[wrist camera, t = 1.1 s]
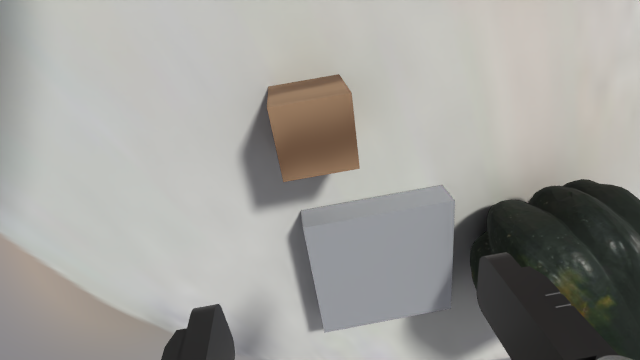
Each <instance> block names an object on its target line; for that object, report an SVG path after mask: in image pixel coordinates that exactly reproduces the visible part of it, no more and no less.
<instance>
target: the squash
mask: <svg viewBox="0 0 640 360" xmlns="http://www.w3.org/2000/svg"><path fill="white" fill-rule="evenodd" d="M487 230H488V231H487V232H485V233H484V234H483V235H481V236H480V237H479V238H478V239H477V240H476V241H475V243H474V244H473V246H472V248H471V252H470V266H471V272H472V278H473V282H474V285H475V288H476V291H477V283H478V271H479V261H480V258H481V257H483V256H488V255H494V254H499V253H505V252H507V253H509V254H510V255H511V256H512V257H513V258H514V259H515V260H516V262H517V263H518V264H519V265H520V266H521V267H528V266H530V267H532V268H533V269H535V270H536V271H538V272H540V273H541V274H543V275H545V276H546V277H548V278H549V280H550V281H551V282H552V283H553V284H554V285H555V286H556V287H557V288H558V289H559V291H560V293H561V294H563V295H564V296H565V297H566V298H567V299H568V300H569V301H570V303H571V305H572V306H574V307H575V308H576V309H577V310H578V311H579V312H580V314H581V315H582V316H583V317H584V318H585V319H586V320H587V321H588V322H589V323H590V324H591V326H592V327H593V328H594V329H595V330H596V331H597V332H598V333H599V334H600V335H601V337H602V338H603V339H604V340H605V341H606V342H607V343H608V344H609V345H610V346H611V347H612V349H613V350H614V351H615V352H616V353H617V354H618V355H620V356H623V357H627V358H630V359H633V360H640V200H639V199H638V198H637V197H635V196H634V195H633V194H632V193H630V192H629V191H628V190H626V189H624V188H622V187H618V186H614V185H607V184H598V183H596V182H593V181H591V180H584V179H581V180H577V181H573V182H570V183H567V184H565V185H564V186H550V187H545V188H543V189H541V190H539V191H538V192H536V193H535V194H534V195H533V197H532V198H531V200H530V202H529V204H528V203H526V202H523V201H519V200H506V201H501V202H499V203H497V204H495V205H494V206H492V207H491V208H490V210H489V212H488V217H487Z"/></svg>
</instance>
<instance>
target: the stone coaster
mask: <svg viewBox="0 0 640 360" xmlns="http://www.w3.org/2000/svg"><path fill="white" fill-rule="evenodd" d="M454 209H455V200H454V199H453V198H452V196H451V195H450V194H449V193H448V191H447V190H446V189H445V188H444V186H443V185H439V186H434V187H428V188H423V189H417V190H412V191H406V192H400V193H395V194H389V195H384V196H378V197H373V198H367V199H362V200H356V201H351V202H345V203H340V204H334V205H329V206H323V207H318V208H312V209H307V210H301V216H302V224H303V231H304V236H305V241H306V245H307V250H308V255H309V260H310V265H311V270H312V275H313V280H314V284H315V289H316V294H317V299H318V304H319V309H320V314H321V318H322V323H323V328H324V333H325V332H330V331H335V330H340V329H346V328H351V327H356V326H362V325H367V324H372V323H377V322H383V321H388V320H393V319H398V318H404V317H409V316H414V315H420V314H425V313H430V312H435V311H441V310H446V309H451V297H452V268H453V239H454Z"/></svg>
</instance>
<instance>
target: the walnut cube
mask: <svg viewBox="0 0 640 360" xmlns="http://www.w3.org/2000/svg"><path fill="white" fill-rule="evenodd" d="M267 110H268V115H269V119H270V124H271V128H272V133H273V137H274V142H275V146H276V151H277V155H278V160H279V164H280V169H281V173H282V178H283V182H287V181H292V180H298V179H304V178H309V177H315V176H320V175H326V174H331V173H337V172H343V171H348V170H354V169H359V168H360V167H359V158H358V149H357V139H356V130H355V120H354V111H353V102H352V93H351V91H350V90H349V88H348V87H347V85H346V84H345V82H344V81H343V80H342V78H341V77H340V75H339V74H338V75H333V76H327V77H321V78H315V79H310V80H304V81H298V82H292V83H287V84H281V85H275V86H269V87H268V100H267Z"/></svg>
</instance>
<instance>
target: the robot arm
mask: <svg viewBox="0 0 640 360" xmlns="http://www.w3.org/2000/svg"><path fill="white" fill-rule="evenodd" d="M477 299H478V303H479V306H480V309H481V311H482V313H483V315H484V316H485V318H486V319H487V321H488V323H489V324H490V326H491V327H492V329H493V331H494V332H495V334H496V335H497V337H498V339H499V340H500V342H501V343H502V345H503V347H504V348H505V350H506V352H507V353H508V355H509V356H510V358H511V360H633V359H630V358H627V357H623V356H620V355H618V354H617V353H616V352H615V351H614V350H613V349H612V347H611V346H610V345H609V344H608V343H607V342H606V341H605V340H604V339H603V338H602V337H601V335H600V334H599V333H598V332H597V331H596V330H595V329H594V328H593V327H592V326H591V324H590V323H589V322H588V321H587V320H586V319H585V318H584V317H583V316H582V315H581V314H580V312H579V311H578V310H577V309H576V308H575V307H574V306H572V305H571V303H570V301H569V300H568V299H567V298H566V297H565V296H564V295H563V294H561V293H560V291H559V289H558V288H557V287H556V286H555V285H554V284H553V283H552V282H551V281H550V280H549V278H548V277H546V276H545V275H543V274H541V273H540V272H538V271H536V270H535V269H533V268H532V267H530V266H528V267H521V266H520V265H519V264H518V263H517V262H516V260H515V259H514V258H513V257H512V256H511V255H510V254H509V253H507V252H505V253H499V254H494V255H488V256H483V257H481V258H480V261H479V271H478V283H477ZM234 359H235V349H234V341H233V337H232V334H231V332H230V329H229V326H228V324H227V321H226V319H225V316H224V313H223V311H222V308H221V306H220V305H219V304H216V305H210V306H205V307H200V308H194V309H193V310H192V312H191V315H190V319H189V323H188V327H187V329H181V330H176V332H175V333H174V335H173V336H172V338H171V339H170V340H169V342H168V343H167V345H166V346H165V349H164V352H163V356H162V359H161V360H234Z"/></svg>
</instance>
